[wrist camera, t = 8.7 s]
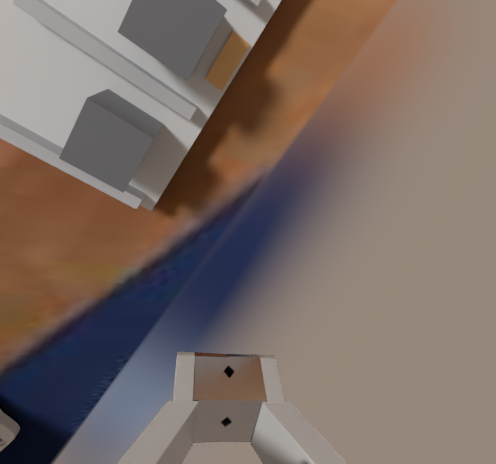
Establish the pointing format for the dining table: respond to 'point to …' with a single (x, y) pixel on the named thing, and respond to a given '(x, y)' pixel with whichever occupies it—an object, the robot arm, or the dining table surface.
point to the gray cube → (110, 139)
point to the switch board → (111, 81)
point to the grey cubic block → (173, 30)
